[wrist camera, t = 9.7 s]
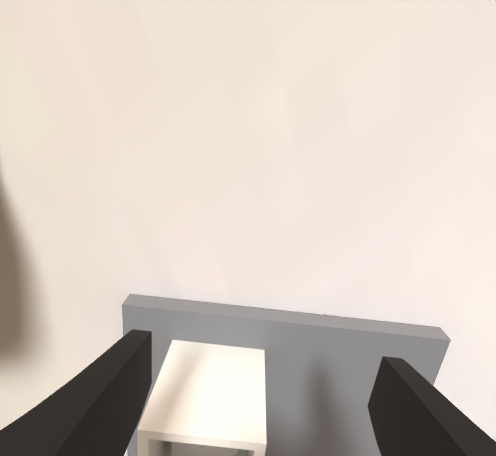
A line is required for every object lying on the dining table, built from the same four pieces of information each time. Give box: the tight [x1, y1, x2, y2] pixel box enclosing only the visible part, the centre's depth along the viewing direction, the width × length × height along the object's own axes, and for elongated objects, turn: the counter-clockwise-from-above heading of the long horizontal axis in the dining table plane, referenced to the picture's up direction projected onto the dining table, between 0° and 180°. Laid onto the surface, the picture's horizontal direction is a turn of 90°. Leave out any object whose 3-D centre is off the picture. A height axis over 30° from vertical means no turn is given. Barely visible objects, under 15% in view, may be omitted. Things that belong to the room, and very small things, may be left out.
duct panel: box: [122, 294, 451, 456], centre depth 22 cm, size 20×16×1 cm
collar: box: [137, 340, 267, 456], centre depth 18 cm, size 6×6×6 cm
